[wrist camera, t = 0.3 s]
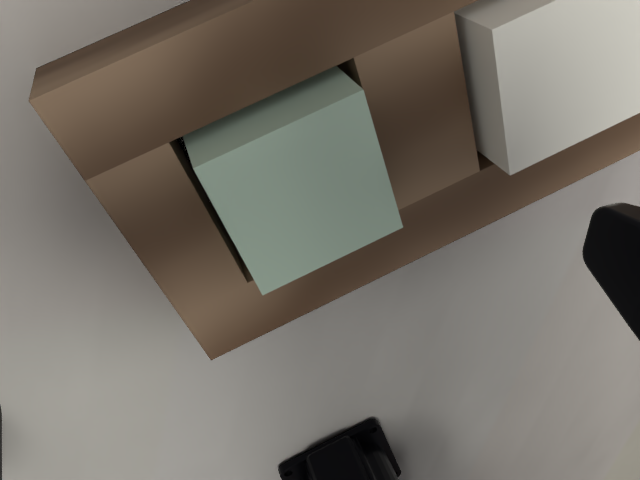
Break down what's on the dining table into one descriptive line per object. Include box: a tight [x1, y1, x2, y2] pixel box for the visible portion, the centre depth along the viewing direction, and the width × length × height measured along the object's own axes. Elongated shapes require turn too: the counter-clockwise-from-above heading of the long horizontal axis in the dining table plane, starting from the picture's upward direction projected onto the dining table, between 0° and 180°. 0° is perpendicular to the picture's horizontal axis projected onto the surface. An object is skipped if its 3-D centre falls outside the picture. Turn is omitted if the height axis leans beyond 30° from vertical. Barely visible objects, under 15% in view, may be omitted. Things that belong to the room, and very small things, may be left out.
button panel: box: [29, 0, 640, 360], centre depth 22 cm, size 12×32×3 cm, turn 108°
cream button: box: [454, 0, 640, 175], centre depth 21 cm, size 6×6×3 cm
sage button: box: [183, 66, 403, 295], centre depth 20 cm, size 6×6×3 cm
